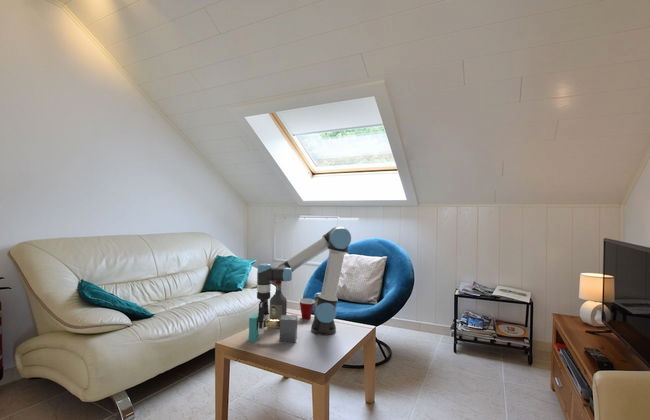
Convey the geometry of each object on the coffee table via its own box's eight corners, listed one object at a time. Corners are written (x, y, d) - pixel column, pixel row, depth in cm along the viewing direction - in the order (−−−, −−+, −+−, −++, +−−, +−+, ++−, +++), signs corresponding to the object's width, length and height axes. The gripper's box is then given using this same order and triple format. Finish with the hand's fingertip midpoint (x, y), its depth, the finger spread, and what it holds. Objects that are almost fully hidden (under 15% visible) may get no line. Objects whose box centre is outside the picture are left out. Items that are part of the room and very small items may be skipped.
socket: (259, 336, 198) (259, 313, 198) (256, 341, 190) (256, 318, 190) (252, 336, 198) (252, 313, 198) (248, 341, 190) (249, 318, 190)
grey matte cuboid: (297, 337, 198) (297, 315, 198) (295, 342, 190) (296, 319, 190) (281, 336, 198) (281, 314, 198) (279, 342, 190) (279, 319, 190)
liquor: (276, 322, 223) (276, 276, 223) (287, 324, 219) (288, 277, 219) (267, 326, 215) (268, 278, 215) (279, 329, 211) (280, 280, 211)
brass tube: (284, 326, 196) (284, 318, 196) (283, 329, 192) (283, 320, 192) (254, 325, 196) (254, 317, 196) (252, 328, 192) (252, 320, 192)
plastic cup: (308, 321, 226) (308, 303, 226) (295, 318, 232) (295, 300, 232) (317, 317, 235) (317, 299, 235) (304, 314, 241) (305, 297, 241)
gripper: (261, 286, 206) (260, 322, 206) (252, 296, 182) (251, 337, 182) (273, 286, 206) (273, 323, 206) (266, 296, 182) (265, 337, 182)
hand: (263, 329), depth 194 cm, fingers open, 11 cm apart
